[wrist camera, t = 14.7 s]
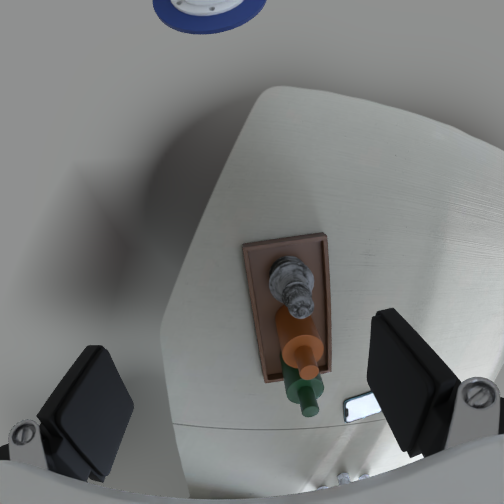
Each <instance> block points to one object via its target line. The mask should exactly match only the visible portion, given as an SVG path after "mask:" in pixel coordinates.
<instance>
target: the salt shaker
mask: <svg viewBox="0 0 504 504" xmlns="http://www.w3.org/2000/svg"><path fill="white" fill-rule="evenodd" d="M269 278H270V279H269V288H270V292H271V294H272V295H273V297H274V298H275V299H276V300H278V301H280V302H281V303H284V305H285V306H286V307H288V310H289V313H290V314H291V315H292V316H293V317H295V318H298V319H303V318H306V317H308V316H310V315H311V314H312V312H313V310H314V302H313V300H312V289H313V287H314V276H313V274H312V272H311V270H310V269H309V268H308V267H307V266H306V265H304V263H303V262H302V261H301V260H300V259H299V258H297V257H294V256H284V257H281V258H279V259H277V260H276V261H275V262H274V263H273V264H272V266H271V268H270V271H269Z"/></svg>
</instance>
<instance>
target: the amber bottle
mask: <svg viewBox="0 0 504 504" xmlns="http://www.w3.org/2000/svg"><path fill="white" fill-rule="evenodd" d="M275 322H276V327H277V332H278V337H279V342H280V347H281V352H282V357H283V360H284V362H285V363H286V364H287V365H289V366H291V367H293V368H298V370H299V374H300V377H301V378H302V379H305V380H310V379H313V378H315V377H316V376H317V375H318V373H319V369H318V366H317V363H316V362H318V361H319V359H320V358H321V357H322V355H323V351H324V346H323V343H322V341H321V338H320V336H319V334H318V331H317V329H316V327H315V324H314V322H313V320H312V318H311V315H310V316H308V317H306V318H303V319H298V318H295V317H293V316H292V315H291V314H290V313H289V310H288V307H286V306H285V305H283V306H282V307H280V308H279V310H278V311H277V313H276V316H275Z"/></svg>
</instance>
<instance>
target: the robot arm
mask: <svg viewBox="0 0 504 504" xmlns="http://www.w3.org/2000/svg"><path fill="white" fill-rule="evenodd" d="M243 1H244V0H171V2H172V4H173V5H174V7H175V8H177V9H178V10H179V11H181V12H183V13H186V14H189V15H195V16H210V15H217V14H220V13H224V12H226V11H229V10H231V9H233V8H235V7H237V6H238V5H239V4H240V3H242V2H243ZM367 382H368V385H369V387H370V389H371V391H372V393H373V394H374V396H375V398H376V400H377V402H378V404H379V406H380V408H381V410H382V412H383V414H384V416H385V418H386V420H387V422H388V424H389V426H390V428H391V430H392V432H393V434H394V436H395V438H396V440H397V442H398V444H399V446H400V448H401V450H402V451H403V452H406V451H407V452H408V455H409V457H410V458H412V457H414V456H417V455H419V454H421V453H422V454H423V456H424V458H423V459H420V460H418V461H415V462H413V463H410V464H407V465H405V466H402V467H399V468H397V469H394V470H391V471H388V472H385V473H382V474H378V475H375V476H372V477H368V478H365V479H362V480H358V481H354V482H351V483H347V484H343V485H339V486H334V487H330V488H325V489H320V490H315V491H310V492H304V493H298V494H291V495H283V496H274V497H264V498H251V499H225V500H212V499H186V498H172V497H162V496H153V495H147V494H140V493H133V492H128V491H122V490H118V489H113V488H108V487H104V486H99V485H96V484H91V483H88V482H87V479H88V477H89V478H90V479H91V480H95V481H99V482H104V479H105V476H108V475H109V473H110V471H111V468H112V465H113V462H114V460H115V457H116V454H117V451H118V449H119V446H120V443H121V441H122V438H123V435H124V433H125V430H126V427H127V425H128V422H129V419H130V417H131V415H132V412H133V409H134V404H133V401H132V399H131V397H130V395H129V393H128V391H127V389H126V387H125V385H124V383H123V381H122V379H121V377H120V375H119V373H118V371H117V369H116V367H115V365H114V362H113V360H112V358H111V356H110V354H109V352H108V350H106V349H105V348H104V347H103V346H101V345H89V346H87V347H86V348H85V349H84V351H83V352H82V353H81V355H80V356H79V357H78V358H77V360H76V361H75V362H74V364H73V365H72V367H71V368H70V369H69V371H68V372H67V373H66V375H65V376H64V377H63V379H62V380H61V381H60V383H59V384H58V386H57V387H56V388H55V390H54V391H53V393H52V394H51V395H50V397H49V398H48V400H47V401H46V403H45V404H44V406H43V407H42V408H41V410H40V412H39V413H38V414H37V418H38V419H39V420H40V422H41V424H40V425H38V424H37V423H36V422H35V421H33V420H28V419H27V420H22V421H21V422H18V423H17V424H16V425H14V426H13V428H12V429H11V431H10V433H9V438H8V439H9V443H8V444H6V445H3V446H1V447H0V504H504V398H502V397H500V392H499V389H498V387H497V385H496V384H494V383H493V382H492V381H491V380H489V379H487V378H482V377H473V378H469V379H467V380H465V381H463V382H461V381H460V380H459V379H458V378H457V376H456V375H455V374H454V373H453V372H452V371H451V369H450V368H449V367H448V366H447V365H446V364H445V363H444V361H443V360H442V359H441V358H440V357H439V356H438V355H437V354H436V353H435V351H434V350H433V349H432V348H431V347H430V346H429V345H428V344H427V343H426V342H425V341H424V339H423V338H422V337H421V336H420V335H419V334H418V333H417V332H416V331H415V330H414V329H413V328H412V327H411V326H410V325H409V323H408V322H407V321H406V320H405V319H404V318H403V317H402V316H401V315H400V314H399V313H398V312H397V311H396V310H395V309H394V308H389V309H385V310H380V311H377V313H376V316H373V317H372V320H371V335H370V348H369V359H368V368H367Z"/></svg>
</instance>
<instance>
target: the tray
mask: <svg viewBox="0 0 504 504" xmlns="http://www.w3.org/2000/svg"><path fill="white" fill-rule="evenodd" d="M242 248H243V255H244V261H245V267H246V273H247V279H248V286H249V292H250V298H251V304H252V310H253V316H254V322H255V328H256V334H257V340H258V346H259V352H260V358H261V364H262V370H263V376H264V382H265V383H271V382H278V381H284V378H283V372H282V367H281V361H280V352H281V347H280V342H279V337H278V332H277V327H276V322H275V316H276V313H277V311H278V310H279V308H280V307H282V306H283V305H284V303H281V302H280V301H278V300H276V299H275V298H274V297H273V295H272V294H271V292H270V288H269V279H270V278H269V271H270V268H271V266H272V264H273V263H274V262H275V261H276V260H277V259H279V258H281V257H284V256H294V257H297V258H299V259H300V260H301V261H302V262H303V263H304V265H306V266H307V267H308V268H309V269H310V270H311V272H312V274H313V276H314V287H313V289H312V300H313V302H314V310H313V312H312V314H311V318H312V320H313V322H314V324H315V327H316V329H317V331H318V334H319V336H320V338H321V341H322V343H323V346H324V351H323V355H322V357H321V358H320V359H319V361H318V362H316V363H317V366H318V369H319V373H320V374H324V373H329V372H331V361H332V337H331V295H330V273H329V256H328V242H327V235H326V234H324V233H323V232H321V233H314V234H307V235H300V236H293V237H286V238H279V239H272V240H265V241H258V242H252V243H245V244H243V247H242Z"/></svg>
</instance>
